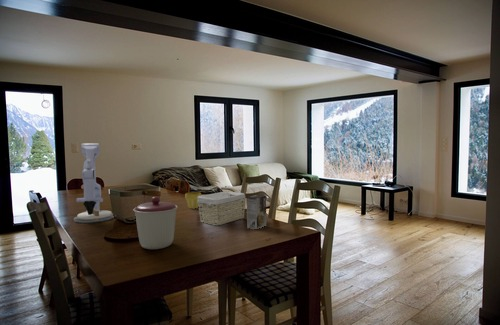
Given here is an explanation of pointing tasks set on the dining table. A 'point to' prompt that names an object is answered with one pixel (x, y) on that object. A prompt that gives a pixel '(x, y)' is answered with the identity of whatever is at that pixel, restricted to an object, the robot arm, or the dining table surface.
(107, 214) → the dial
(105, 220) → the base
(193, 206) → the plant pot
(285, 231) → the dining table surface
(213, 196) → the storage basket
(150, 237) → the canister
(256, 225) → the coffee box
